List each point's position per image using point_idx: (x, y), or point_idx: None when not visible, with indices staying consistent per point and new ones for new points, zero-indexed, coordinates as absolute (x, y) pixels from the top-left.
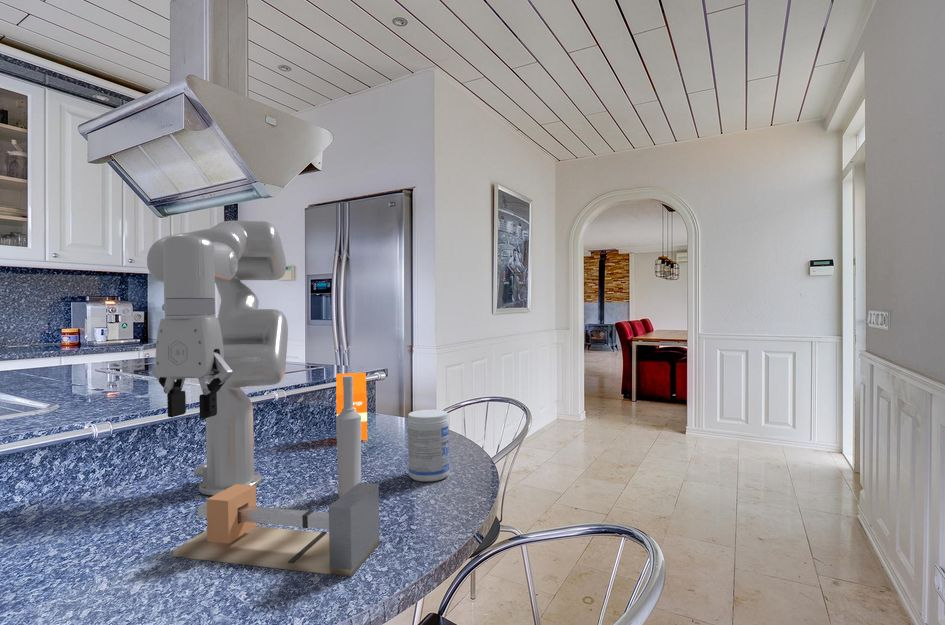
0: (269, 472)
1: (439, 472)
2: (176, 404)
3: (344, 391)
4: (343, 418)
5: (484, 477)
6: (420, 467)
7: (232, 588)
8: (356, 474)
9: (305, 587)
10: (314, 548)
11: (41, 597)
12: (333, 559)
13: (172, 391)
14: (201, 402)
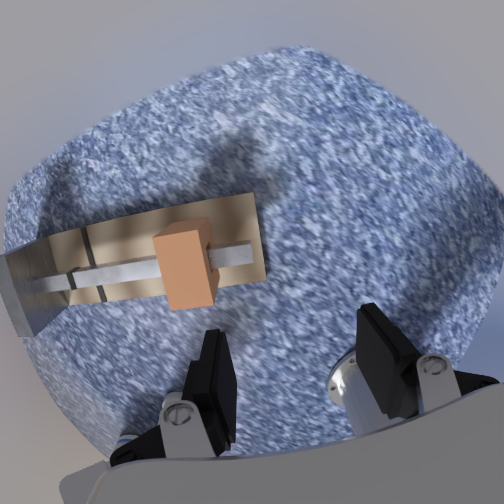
0: (344, 416)
1: (117, 442)
2: (373, 351)
3: None
4: None
5: (94, 442)
6: None
7: (112, 168)
8: None
9: (54, 205)
10: (86, 265)
11: (314, 73)
12: (39, 239)
13: (409, 378)
14: (201, 367)
